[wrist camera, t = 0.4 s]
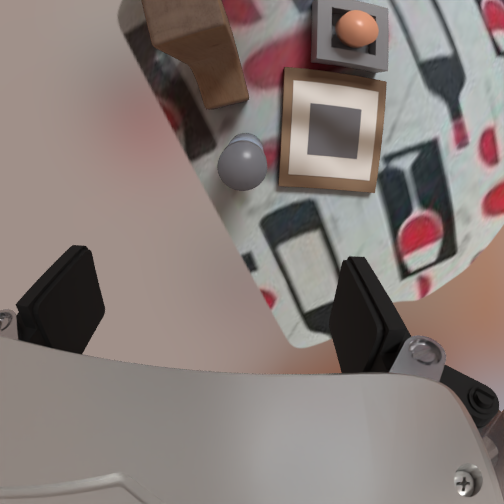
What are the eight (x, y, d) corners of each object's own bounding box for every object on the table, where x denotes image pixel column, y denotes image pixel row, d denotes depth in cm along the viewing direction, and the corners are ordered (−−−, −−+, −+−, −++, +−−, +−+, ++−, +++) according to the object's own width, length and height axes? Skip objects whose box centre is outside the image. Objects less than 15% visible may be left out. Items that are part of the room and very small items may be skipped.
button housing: (312, 2, 25) (317, -7, 22) (376, 15, 25) (388, 8, 22) (310, 62, 29) (316, 58, 26) (376, 72, 29) (387, 70, 26)
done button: (335, 12, 24) (341, 6, 21) (370, 20, 24) (378, 15, 21) (334, 44, 25) (341, 40, 23) (370, 51, 26) (378, 47, 23)
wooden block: (250, 100, 31) (245, 96, 15) (211, 109, 32) (169, 117, 16) (231, 30, 27) (210, -33, 11) (192, 40, 28) (137, -9, 12)
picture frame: (284, 68, 30) (284, 66, 28) (383, 82, 30) (387, 81, 29) (278, 183, 36) (279, 186, 35) (371, 190, 36) (375, 193, 35)
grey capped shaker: (227, 131, 33) (217, 142, 24) (264, 132, 33) (268, 143, 24) (227, 166, 35) (217, 190, 26) (263, 167, 35) (266, 191, 26)
